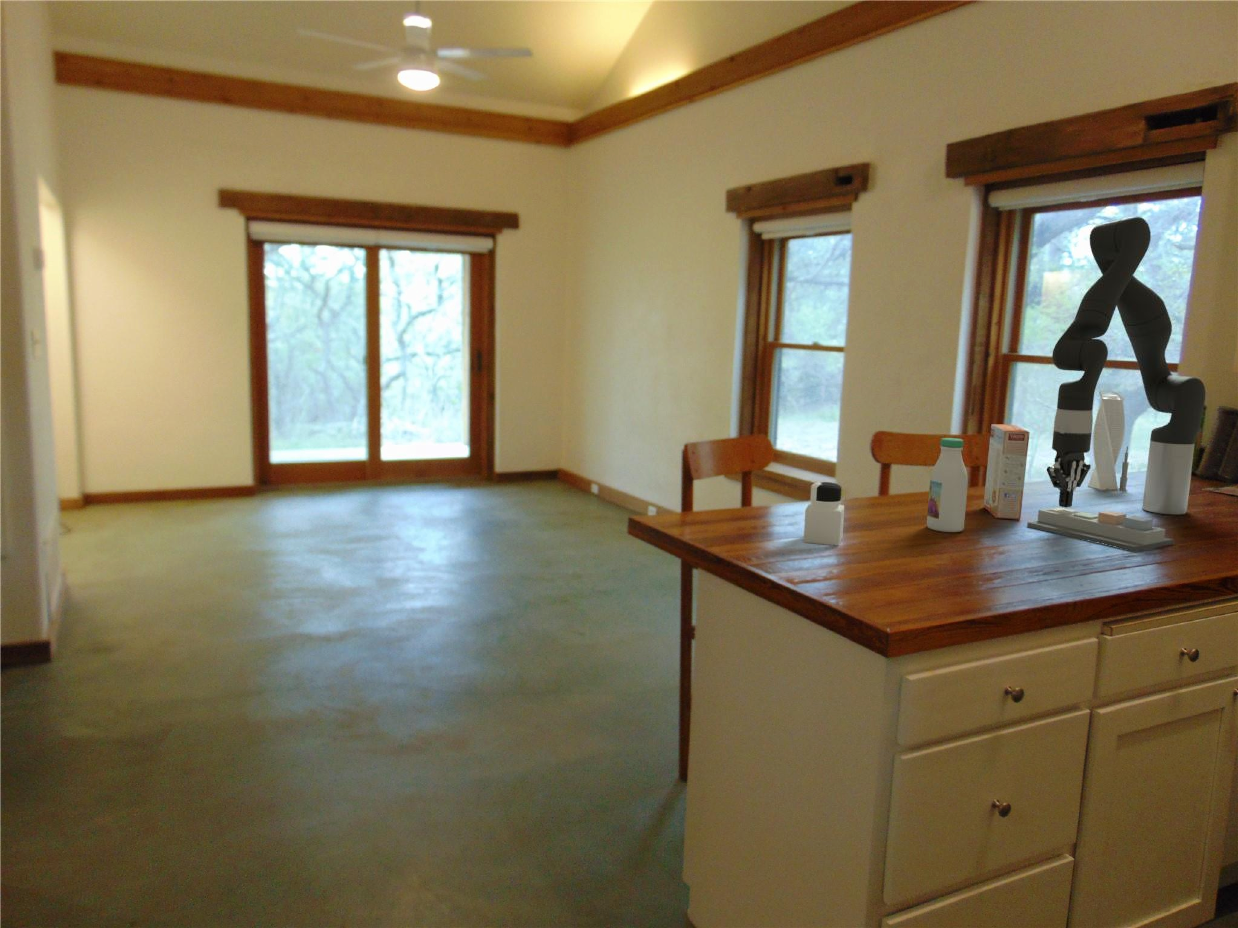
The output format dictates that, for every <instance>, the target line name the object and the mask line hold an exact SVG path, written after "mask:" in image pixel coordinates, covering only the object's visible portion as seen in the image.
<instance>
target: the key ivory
mask: <svg viewBox="0 0 1238 928" xmlns="http://www.w3.org/2000/svg"><path fill="white" fill-rule="evenodd" d="M1055 508H1056V507H1055ZM1077 511H1078V510H1075V509H1069V508H1066V507H1059V508H1056V509H1051V511H1050V512H1055V513H1060V514H1064V515H1068V514H1075V513H1077Z"/></svg>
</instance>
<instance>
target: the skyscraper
mask: <svg viewBox="0 0 1238 928" xmlns="http://www.w3.org/2000/svg"><path fill="white" fill-rule="evenodd" d="M1104 392H1105V393H1107V392H1108V393H1112V394H1102V393H1104ZM1098 394H1099V397H1100V400H1101V401H1100V404H1099V407H1098V410H1097V412H1096V416H1095V417H1096V418H1095V420H1094V425H1093V430H1092V432H1093V433H1092V451H1093V460H1094V469H1093V470H1092V474H1091V476H1090V478H1089V482H1088V485H1087V488H1090V489H1093V490H1099V491H1102V492H1105V491H1116V492H1128V490H1127V483H1128V471H1129V470H1128V469H1129V465H1130V464H1129V463H1130V462H1129V461H1128V458H1129V452H1128V451H1129V446H1126V450H1125V451H1126V452H1124V459H1123V460H1124V461H1122V467H1121V476H1120V477H1119V486H1118V481H1117V475H1116V465H1117V462H1118V459H1119V457H1120V453H1121V450H1122V449H1123V448H1122V447H1123V444H1124V438H1125V431H1126V418H1125V415H1126V414H1125V405H1124V401H1125V397H1124V396H1122V395H1121V394H1120V393H1119V392H1116V391H1114V390H1112V389H1111V390H1110V389H1100V390H1099V391H1098Z"/></svg>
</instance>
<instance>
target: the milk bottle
mask: <svg viewBox="0 0 1238 928" xmlns="http://www.w3.org/2000/svg"><path fill="white" fill-rule="evenodd" d="M963 448H964V440H963V439H961V438H954V437H945V438H944V437H942V438H940V450H941V451H940V453H939V456H938V459H937V461H936V463H935V464H934V466H933V469H932V471H931V474H930V482H929V491H928V500H927V504H928V505H927V517H926V526H927V528H928V529H930V530H931V531H932V530H933V531H937V532H943V533H960V532H962V531H964V528H965V520H966V518H965V517H966V507H967V494H968V480H969V479H968V471H967V468H966V466H965V463H964V460H963V456H962V451H963Z"/></svg>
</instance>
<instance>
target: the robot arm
mask: <svg viewBox="0 0 1238 928" xmlns="http://www.w3.org/2000/svg"><path fill="white" fill-rule="evenodd" d="M1151 238H1152V235H1151V228H1150V226H1149V223H1148V222H1147V221H1146V220H1145V218H1143V217H1142V216H1130V217H1129V216H1128V217H1124V218H1121V219H1116V220H1112V221H1107V222H1104V223H1099V224H1098V225H1096V226H1094V227H1093V228H1092V229H1091V231H1090V234H1089V246H1090V251H1091V253H1092V256H1093V258H1094V260H1095V263H1096V264H1097V267H1098V269H1099V270H1100V271H1099V272H1101V274H1102V275H1101V276H1100V277H1099V278H1098V279H1097V280H1096V281H1095V282H1094V283H1093V284H1092V285H1091V286H1090V287H1089V289H1088V290H1087V291H1086V292H1085V294H1084V296H1083V297H1082V299H1081V301H1080V304H1079V307H1078V309H1077V312H1076V314H1075V317H1074V320H1073V321H1072V322H1071V323H1070V325H1069V326H1068V327H1067V329H1066V330H1065V331H1064V333H1063V334H1062V335H1061V336H1060V337H1059V339H1058V340H1057V342H1056V343H1055V346H1054V347H1053V351H1052V355H1051V357H1052V362H1053V363H1052V364H1053V365H1054V367H1056V368H1057V369H1058V370H1060V371H1061V370H1062V371H1075V372H1083V374H1082V376H1081V377H1080V378H1079V379H1078V380H1077V379H1076V380H1073V381H1072V380H1071V381H1065V382H1062V383H1061V384H1060V385H1059V388H1058V394H1057V401H1056V403H1057V404H1056V412H1055V416H1054V420H1053V421H1054V422H1053V433H1052V442H1051V443H1052V445H1051V449H1052V450H1053V451H1055V452H1056V454H1055V456H1054V457H1055V458H1054V464H1053V465H1052V466H1047V467H1046V472H1047V474H1048V477H1049V479H1050V481H1051V484H1052V487H1053V488H1056V489H1058V490H1059V498H1058V506H1059V507H1060V508H1065V509H1068V508H1071V507H1072V506H1073V499H1074V491H1076V488H1080V487H1081V486H1082V484H1083V482H1084V480H1085V479H1086V477H1087V475H1088V474H1089V471H1090V469H1091V464H1090V463H1086V462H1085V459H1086V457H1085V453H1089V452H1090V450H1091V443H1092V435H1093V433H1092V432H1093V424H1094V423H1093V421H1094V417H1093V408H1094V399H1095V392H1096V388H1097V386H1098V385H1097V384H1098V382H1099V380H1100V379H1099V378H1100V377H1101V375H1102V372H1103V369H1104V367H1105V366H1106V364H1107V363H1106V362H1107V360H1108V356H1109V349H1108V346H1107V344H1106V342H1104V340H1102V339H1099V338H1101V337H1103V336H1104V335H1106V333H1107V332H1108V330H1109V328H1110V324H1111V322H1112V319H1113V315H1114V313H1115V311H1116V308H1117V311H1118V313H1119V316H1120V319H1121V322H1122V324H1123V328H1124V330H1125V332H1126V336H1127V337H1128V340H1129V342H1130V344H1131V347H1132V350H1133V353H1134V357H1135V360H1136V361H1137V364H1138V368H1139V371H1140V376H1141V379H1142V380H1141V381H1142V385H1143V389H1144V391H1145V395H1146V399H1147V402H1148V405H1150V407H1151V408H1152V409H1153V410H1154V411H1157V412H1159V413H1163V414H1170V418H1169V422H1168V423H1166V424H1165V425H1163V426H1158V427H1155V428H1152V430H1151V432H1150V438H1149V439H1150V441H1149V449H1148V458H1147V466H1146V475H1145V483H1144V493H1143V499H1142V505H1141V507H1142V510H1144V511H1148V512H1150V513H1151V512H1152V513H1157V514H1163V515H1185V514H1186V513H1187V511H1188V505H1189V504H1188V503H1189V495H1190V487H1191V481H1192V480H1191V479H1192V467H1193V462H1194V461H1193V459H1194V452H1195V451H1194V450H1195V443H1196V438H1197V435H1198V434H1199V431H1200V430H1201V429H1200V428H1201V425H1202V420H1203V419H1202V418H1203V413H1204V407H1205V402H1206V388H1205V384H1204V383H1203V381H1202V380H1201V379H1200V378H1198V377H1195V376H1185V375H1174V374H1172V372H1171V371H1170V369H1169V366H1168V364H1167V359H1166V351H1167V347H1168V345H1169V342H1170V339H1171V335H1172V332H1173V324H1172V320H1171V317H1170V314H1169V311H1168V309H1167V306H1166V304H1165V302H1164V300H1163V299H1162V298H1161V296H1160V295H1159V294H1158V293H1156V292H1155V291H1154V290H1153V289H1152V288H1150V287H1149V286H1147V285H1146V284H1144V283H1143V282H1142V281H1141V280H1139V279H1138V278H1137V277H1135V276H1134V274H1135V273H1136V270H1137V269H1138V268H1139V265H1140V264H1141V262H1142V260H1144V257H1145V255H1146V254H1147V251H1148V250H1149V247H1150V244H1151Z"/></svg>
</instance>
